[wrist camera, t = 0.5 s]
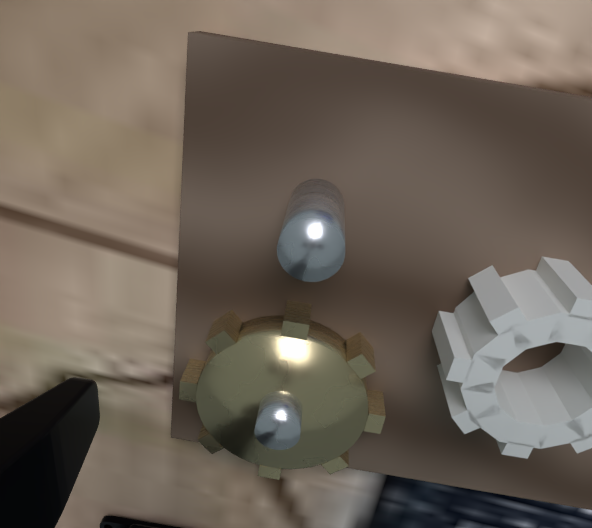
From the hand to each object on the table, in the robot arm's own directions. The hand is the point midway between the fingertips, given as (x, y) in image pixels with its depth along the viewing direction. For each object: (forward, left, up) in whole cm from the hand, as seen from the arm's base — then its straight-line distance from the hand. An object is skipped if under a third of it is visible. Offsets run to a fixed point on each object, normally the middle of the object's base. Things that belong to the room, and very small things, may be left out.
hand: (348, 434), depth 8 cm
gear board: (-4, -4, -12) cm, 13 cm away
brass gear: (-8, +1, -11) cm, 13 cm away
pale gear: (-4, -8, -11) cm, 14 cm away
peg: (0, +1, -11) cm, 11 cm away
